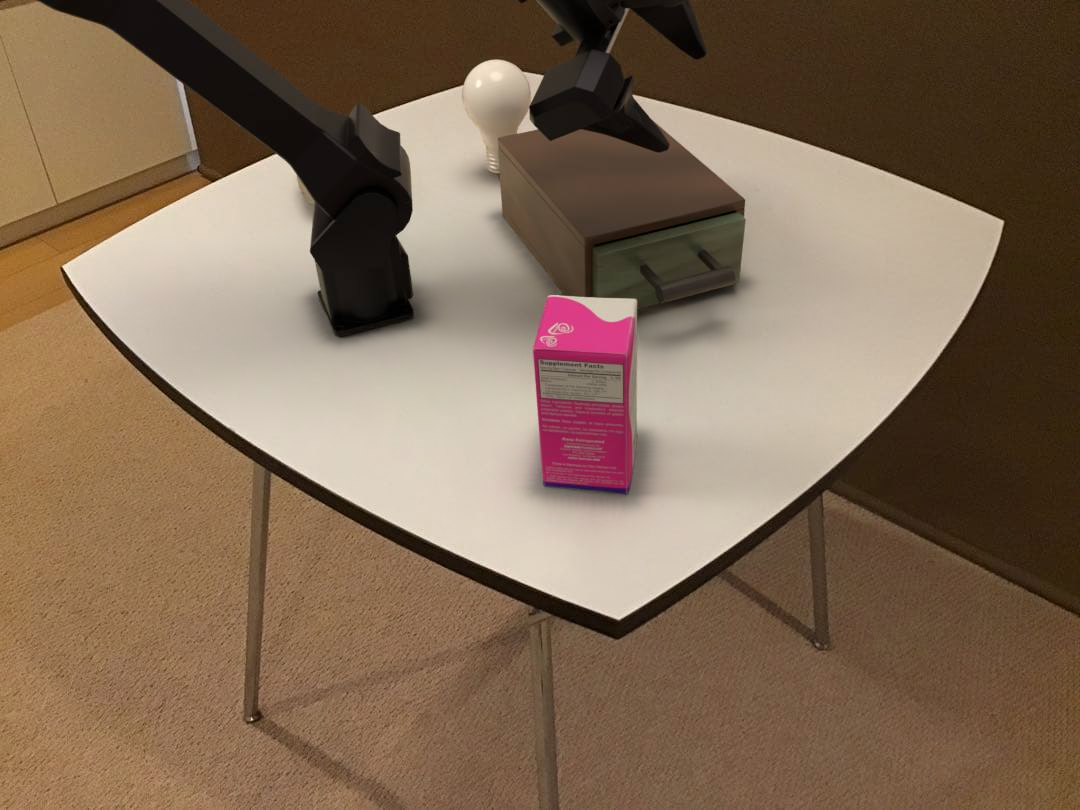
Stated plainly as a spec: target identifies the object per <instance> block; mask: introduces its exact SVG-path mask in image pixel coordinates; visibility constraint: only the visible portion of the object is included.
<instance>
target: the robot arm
mask: <svg viewBox="0 0 1080 810" xmlns="http://www.w3.org/2000/svg"><path fill="white" fill-rule="evenodd" d="M36 1H37V2H39V3H41V4H42V5H44V6H46V7H48V8H49V9H52V10H53V11H56V12H59V13H63V14H65V15H69V16H71V17H75V18H78V19H81V20H85V21H88V22H91V23H94V24H98V25H100V26H102V27H105V28H106V29H109V30H110V31H112V32H113V33H114V34H116V35H117V36H118V37H120V38H121V39H123V40H124V41H125V42H127V43H128V44H129V45H130V46H132V47H133V48H135V49H136V50H137V51H138V52H140V53H141V54H142V55H144V56H145V57H147V58H148V59H149V60H150V61H152V62H153V63H154V64H156V65H157V66H159V67H160V68H161V69H162V70H164V71H165V72H167V73H168V74H169V75H170V76H172V77H173V78H174V79H176V80H177V81H179V83H181V84H183V85H184V86H185V87H186V88H188V89H189V90H191V91H192V92H193V93H194V94H196V95H197V96H198V97H200V98H201V99H203V100H204V101H205V102H207V103H208V104H209V105H211V106H212V107H213V108H215V109H216V110H217V111H218V112H220V113H221V114H223V115H224V116H225V117H227V118H228V119H229V120H231V122H234V124H236V125H237V126H239V127H240V128H241V129H242V130H243V131H245V132H246V133H248V134H249V135H251V137H253V138H254V139H256V140H257V141H258V142H260V143H261V144H262V145H264V146H265V147H267V148H268V149H269V150H271V151H272V152H273V153H274V154H275V155H277V156H278V157H280V158H281V159H282V160H284V161H285V162H286V163H287V164H288V165H289V166H290V167H291V169H292V170H293V171H294V173H295V174H296V177H297V176H298V177H299V179H300V180H301V182H302V183H303V185H304V186H305V188H306V189H307V191H308V192H309V194H310V195H311V197H312V198H313V200H314V201H315V203H314V205H313V213H312V226H311V234H310V245H309V253H310V255H311V256H312V258H313V260H314V264H315V268H316V269H315V270H316V274H317V279H318V284H319V288H320V290H318V291H317V297H318V298H317V299H318V300H319V302H320V305H321V307H322V309H323V311H324V314H325V317H326V318H327V322H328V324H329V325H330V328H331V330H332V332H333V335H334V336H336V337H343V336H347V335H351V334H355V333H359V332H362V331H367V330H370V329H374V328H375V329H376V328H378V327H383V326H387V325H391V324H395V323H399V322H402V321H408V320H410V319H413V318H414V317H415V310H414V308H413V306H412V304H411V303H410V301H409V300H412V299H413V297H414V291H413V282H412V275H411V267H410V261H409V254H408V253H407V251H406V250H405V248H404V246H403V244H402V243H401V241H400V239H399V238H398V236H397V235H399V234H400V233H402V232H403V231H404V230H405V228H406V227H407V226H408V224H409V223H410V221H411V218H412V214H413V210H414V209H413V192H412V191H413V190H412V171H411V162H410V158H409V155H408V153H407V151H406V149H404V147H403V146H402V143H401V132H400V131H396V130H394V129H391V128H389V127H387V126H385V125H384V124H382V123H381V122H380V121H379V120H377V118H376V117H375V116H374V114H372V112H371V111H370V110H369V109H368V108H367V107H366V106H364V105H363V104H362V103H360V102H357V103H356V104H355V105H354V106H353V109H352V110H351V112H350V113H349V115H345V114H342V113H338V112H335V111H332V110H329V109H326V108H324V107H322V106H321V105H319V104H318V103H316V102H315V101H314V100H312V99H311V98H310V97H309V96H308V95H306V94H305V93H304V92H303V91H301V90H300V89H299V88H298V87H297V86H295V85H294V84H293V83H292V82H290V81H289V80H288V79H287V78H286V77H284V76H283V75H281V74H280V73H279V72H278V71H276V70H275V69H274V68H273V67H272V66H271V65H269V64H268V63H267V62H265V61H264V60H263V59H261V58H260V57H259V56H258V55H256V54H255V53H254V52H252V51H251V50H250V49H249V48H248V47H247V46H245V45H244V44H243V43H242V42H240V40H238V39H237V38H235V37H234V36H233V35H231V34H230V33H229V32H228V31H226V30H225V29H224V28H223V27H221V26H220V25H219V24H218V23H216V22H215V21H214V20H213V19H212V18H210V17H209V16H208V15H206V13H204V12H203V11H201V9H199V8H198V7H196V5H194V4H193V3H191V2H190V1H189V0H36ZM517 1H518V2H519V3H520V4H521V5H522V4H524V3H525V2H527V1H528V0H517ZM535 1H536V2H537V3H538V4H539V5H540V6H541V8H542V9H543V10H544V11H545V12H546V13H547V14H548V15H549V16H550V18H552V19H553V20H554V22H555V23H556V24H557V25H556V27H555V29H554V31H553V33H552V35H551V38H552V39H553V40H554V41H555V42H556V43H557V45H559V46H560V47H561V48H562V47H564V46H566V45H568V44H571V43H572V42H575V43H576V44H577V45H579V46H578V49H577V51H576V52H575V55H574V56H573V57H570V58H568V59H567V60H564V61H563V62H561V63H559V64H556V65H554V66H552V67H550V68H548V69H546V71H545V73H544V75H543V76H542V79H541V80H540V83H539V85H538V87H537V89H536V92H535V94H534V95H533V97H532V99H531V103H530V106H529V110H528V112H529V120H530V122H531V123H532V124H533V125H534V127H535V128H536V130H539V131H540V132H541V133H542V134H543V135H544V136H545V137H546V138H547V139H548V140H549V141H552V140H554V139H557V138H559V137H562V136H565V135H567V134H570V133H572V132H575V131H577V130H580V129H582V130H587V131H591V132H596V133H600V134H604V135H607V136H611V137H613V138H617V139H620V140H622V141H625V142H628V143H631V144H634V145H637V146H640V147H643V148H646V149H649V150H651V151H654V152H657V153H660V152H664V151H666V150H668V149H669V147H670V144H669V142H668V141H667V139H666V138H665V136H664V134H663V133H662V132H661V130H660V129H659V128H658V127H657V125H656V124H657V123H656V122H655V121H654V120H653V119H652V118H651V117H650V116H649V114H647V112H646V111H645V109H644V108H642V106H641V105H640V104H639V102H638V101H637V100H636V99H635V98H634V95H633V94H634V83H635V82H634V80H635V77H634V75H630V76H627V77H625V78H624V74H623V68H622V65H621V63H619V61H618V60H617V59H616V58H615V57H614V56H613V55H612V54H611V50H612V48H613V46H614V44H615V41H616V39H617V37H618V35H619V33H620V30H621V29H622V26H623V24H624V22H625V19H626V18H627V16H628V14H629V11H630V10H631V11H632V12H634V13H635V14H636V15H637V16H638V17H640V18H641V19H642V20H644V21H645V22H646V23H647V24H648V25H650V26H651V28H653V29H655V30H656V32H657V33H659V34H660V35H662V36H663V37H664V38H665V39H667V40H668V41H669V42H670V43H671V44H672V45H673V46H675V47H676V48H677V49H678V50H680V51H681V52H683V53H685V54H686V55H687V56H689V57H690V58H692V59H694V60H695V61H698V60H701V59H704V58H705V57H707V55H708V48H707V45H706V43H705V40H704V36H703V34H702V32H701V29H700V26H699V24H698V20H697V18H696V15H695V12H694V9H693V7H692V4H691V0H535ZM652 120H653V121H654V122H655V123H656V124H655V123H654V122H653V121H652Z"/></svg>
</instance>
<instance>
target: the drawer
mask: <svg viewBox="0 0 1080 810" xmlns="http://www.w3.org/2000/svg"><path fill="white" fill-rule="evenodd" d="M746 221H747V219H746V217H745V216H744V217H743V216H742V215H741V214H740V213H739V212H736V213H732V214H728V215H724V216H721V214H719V215H715V216H711V217H707V218H703V219H699V220H695V221H690V222H686V223H682V224H678V225H674V226H670V227H666V228H662V229H658V230H654V231H649V232H645V233H641V234H637V235H633V236H629V237H625V238H621V239H617V240H612V241H608V242H604V243H600V244H596V245H594V247H593V297H594V298H628V299H636V300H637V310H639V309H642V308H643V309H644V308H646V307H650V306H654V305H658V304H664V303H668V302H672V301H674V300H679V299H683V298H687V297H691V296H694V295H698V294H702V293H706V292H709V291H713V290H718V289H721V288H724V287H728V286H732V285H734V284H736V283H739V282H740V276H741V269H742V268H741V267H742V260H743V249H744V239H745V232H746V231H745V230H746Z"/></svg>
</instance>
